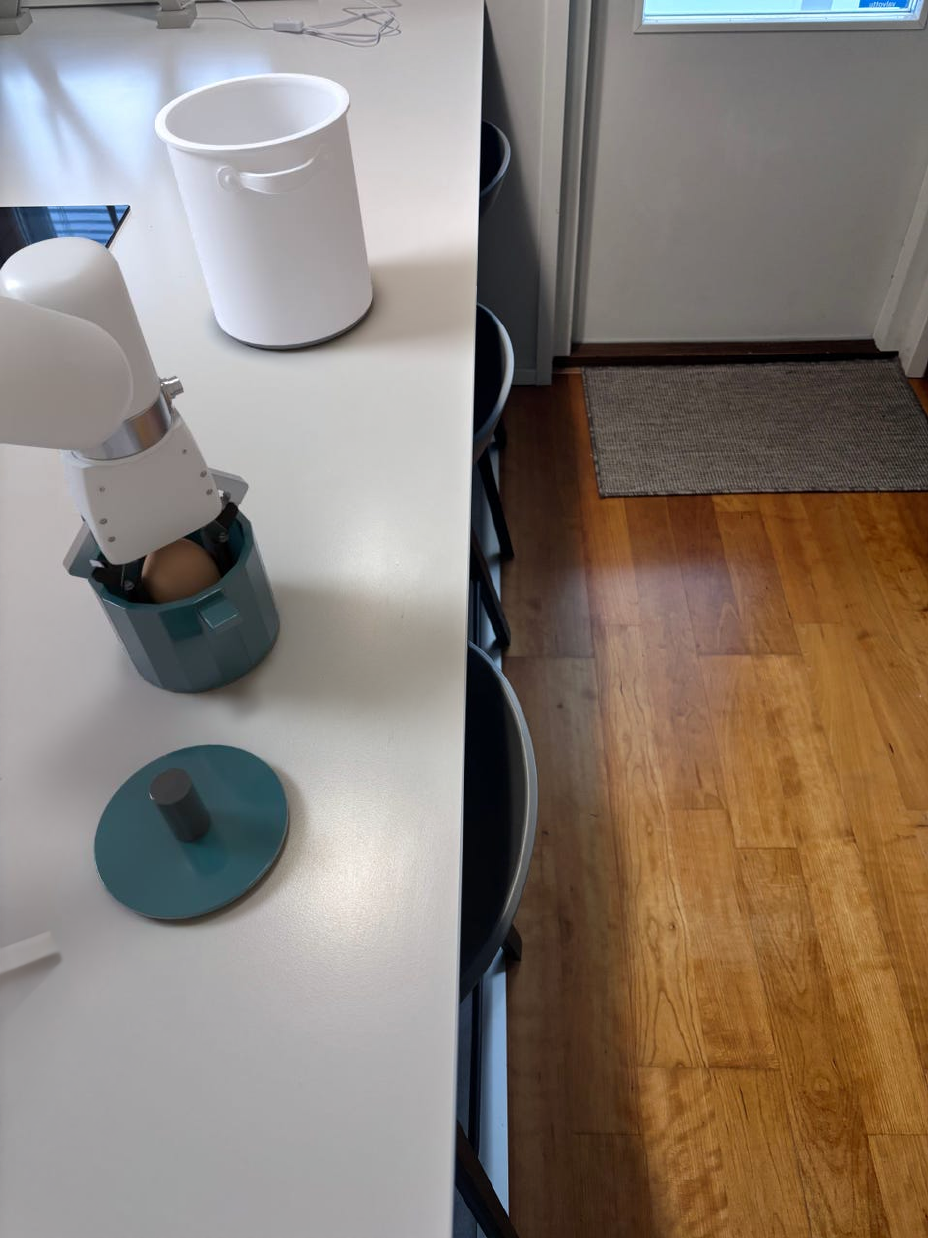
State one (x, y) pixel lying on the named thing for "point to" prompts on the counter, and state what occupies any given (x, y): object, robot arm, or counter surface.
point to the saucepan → (199, 622)
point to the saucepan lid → (191, 831)
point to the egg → (178, 571)
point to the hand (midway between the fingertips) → (184, 588)
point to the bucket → (272, 205)
